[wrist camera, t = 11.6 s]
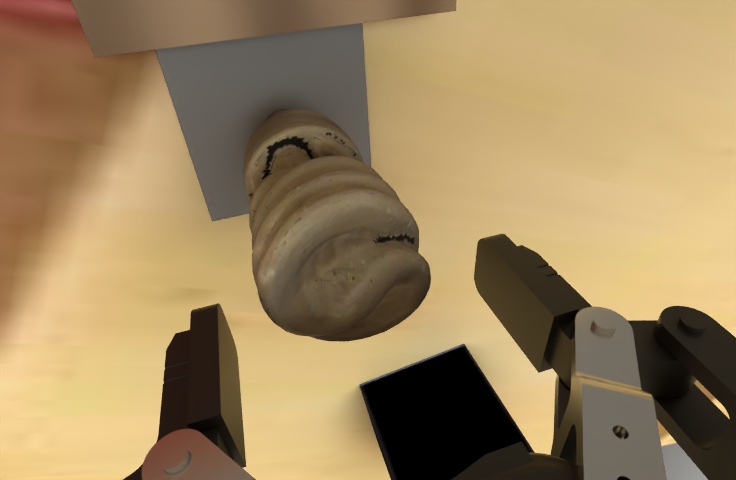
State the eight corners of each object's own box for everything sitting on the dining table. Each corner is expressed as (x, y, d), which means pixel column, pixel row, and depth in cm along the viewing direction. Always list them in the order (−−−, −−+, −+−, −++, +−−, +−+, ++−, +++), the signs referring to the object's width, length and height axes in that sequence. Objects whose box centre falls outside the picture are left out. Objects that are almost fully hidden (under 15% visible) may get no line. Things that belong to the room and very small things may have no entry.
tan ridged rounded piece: (205, 130, 23) (214, 341, 11) (272, 47, 21) (362, 186, 10) (288, 188, 26) (362, 397, 14) (350, 119, 25) (486, 286, 13)
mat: (358, 11, 22) (361, 13, 22) (369, 182, 28) (372, 186, 28) (153, 36, 20) (151, 39, 20) (211, 215, 26) (212, 221, 26)
